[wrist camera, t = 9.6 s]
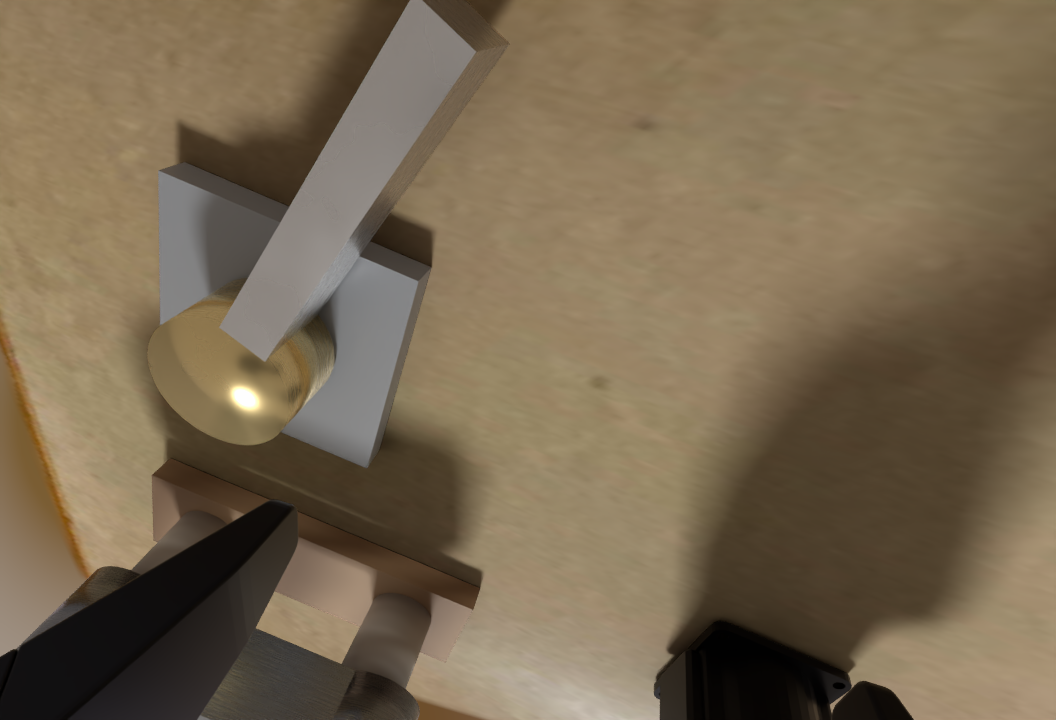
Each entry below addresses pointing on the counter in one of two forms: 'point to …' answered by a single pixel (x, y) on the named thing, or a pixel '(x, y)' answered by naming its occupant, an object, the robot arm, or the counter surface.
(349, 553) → the peg rack
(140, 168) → the counter surface
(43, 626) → the grey knobbed rod
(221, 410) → the lever switch
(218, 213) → the plate
